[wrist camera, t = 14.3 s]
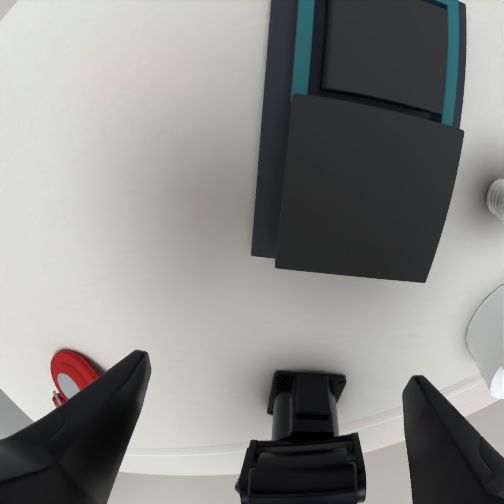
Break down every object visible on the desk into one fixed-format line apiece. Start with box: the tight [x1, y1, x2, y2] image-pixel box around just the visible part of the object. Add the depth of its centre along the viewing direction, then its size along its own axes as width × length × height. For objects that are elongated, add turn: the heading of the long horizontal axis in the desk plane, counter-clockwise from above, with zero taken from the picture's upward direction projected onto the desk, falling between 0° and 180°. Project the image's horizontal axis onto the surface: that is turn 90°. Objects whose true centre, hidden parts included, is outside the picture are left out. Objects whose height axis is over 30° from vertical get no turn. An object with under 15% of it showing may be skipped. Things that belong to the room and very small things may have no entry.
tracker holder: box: [51, 350, 99, 407], centre depth 30 cm, size 12×4×10 cm
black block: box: [319, 0, 448, 114], centre depth 12 cm, size 6×6×3 cm
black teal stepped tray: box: [251, 0, 466, 283], centre depth 15 cm, size 19×12×4 cm, turn 176°
